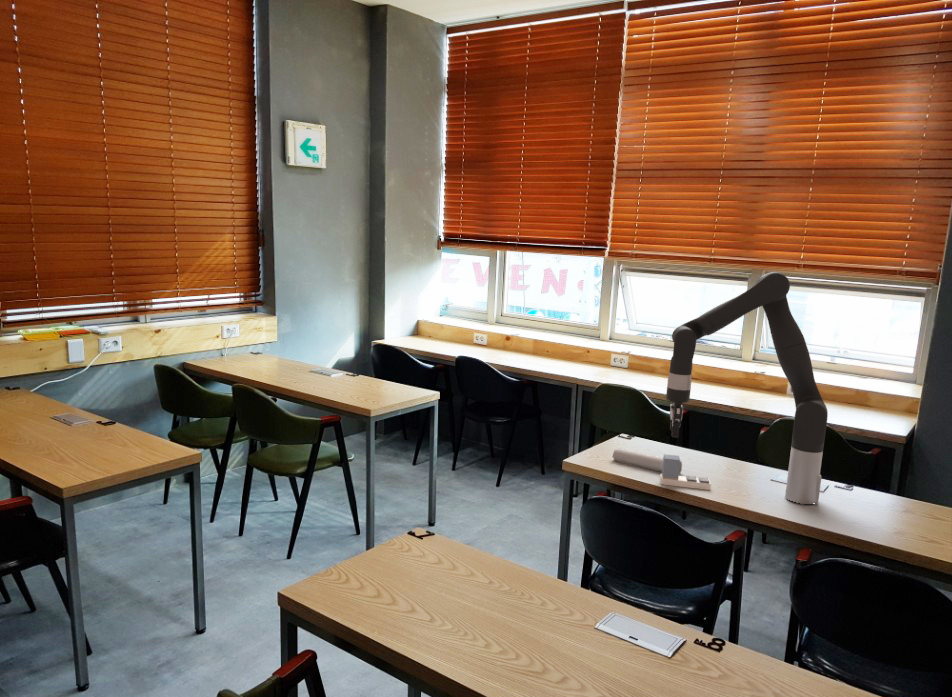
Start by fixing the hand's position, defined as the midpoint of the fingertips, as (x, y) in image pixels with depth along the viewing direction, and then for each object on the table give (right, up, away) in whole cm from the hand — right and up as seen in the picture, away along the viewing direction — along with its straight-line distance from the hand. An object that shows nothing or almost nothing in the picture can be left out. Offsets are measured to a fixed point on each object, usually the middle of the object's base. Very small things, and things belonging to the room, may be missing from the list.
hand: (674, 434), depth 238 cm
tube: (-5, -15, +19) cm, 24 cm away
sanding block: (-1, -15, +2) cm, 15 cm away
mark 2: (+10, -16, 0) cm, 19 cm away
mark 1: (+6, -15, +1) cm, 17 cm away
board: (+4, -17, +2) cm, 18 cm away
